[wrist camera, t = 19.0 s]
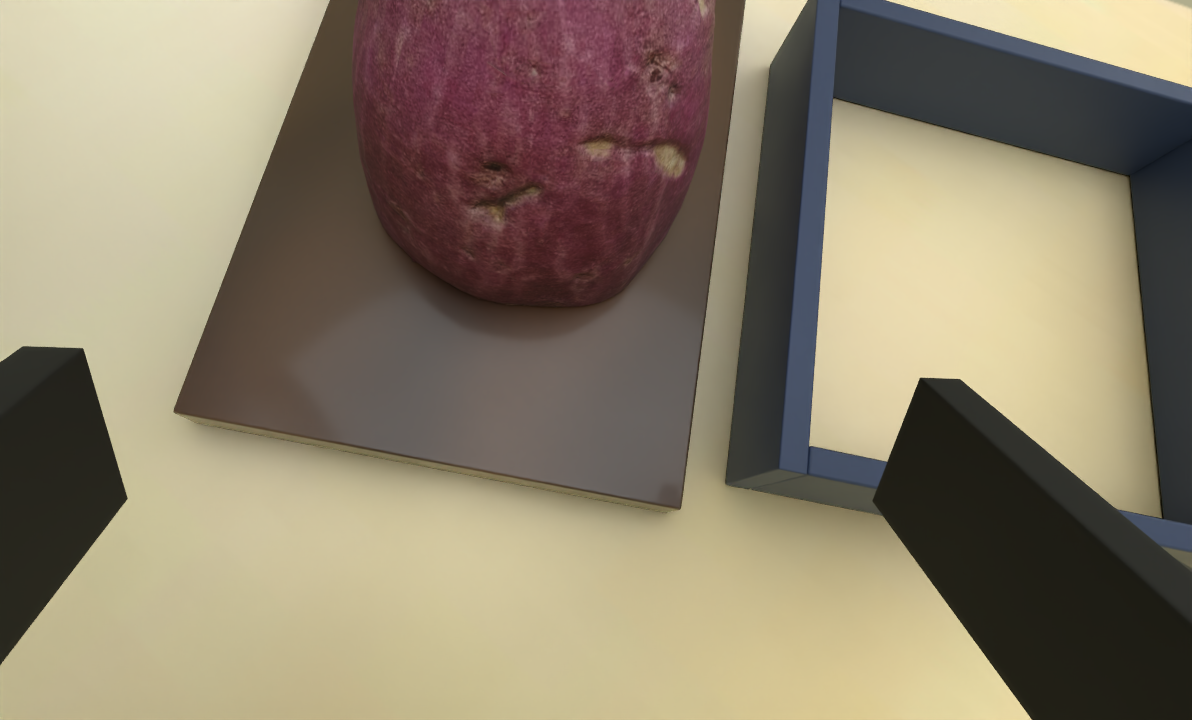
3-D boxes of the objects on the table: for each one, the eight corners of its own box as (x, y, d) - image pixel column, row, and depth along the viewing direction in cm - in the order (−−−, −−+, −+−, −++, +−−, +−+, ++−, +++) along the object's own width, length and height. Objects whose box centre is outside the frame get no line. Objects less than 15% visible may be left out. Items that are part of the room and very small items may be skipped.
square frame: (724, 484, 21) (778, 469, 17) (769, 64, 26) (819, -20, 22) (1188, 576, 22) (1331, 581, 18) (1144, 165, 27) (1249, 102, 24)
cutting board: (195, 423, 19) (171, 412, 17) (383, -87, 25) (376, -126, 23) (667, 513, 20) (681, 510, 19) (734, 10, 26) (748, -22, 25)
